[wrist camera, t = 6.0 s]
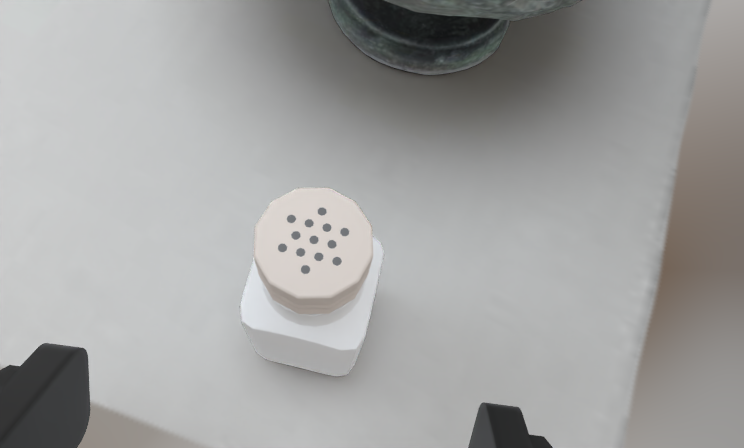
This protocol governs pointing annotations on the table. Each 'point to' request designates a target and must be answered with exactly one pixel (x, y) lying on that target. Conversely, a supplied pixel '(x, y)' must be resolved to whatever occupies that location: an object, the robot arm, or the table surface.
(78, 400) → the robot arm
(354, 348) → the salt shaker
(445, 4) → the bowl
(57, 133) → the table surface
